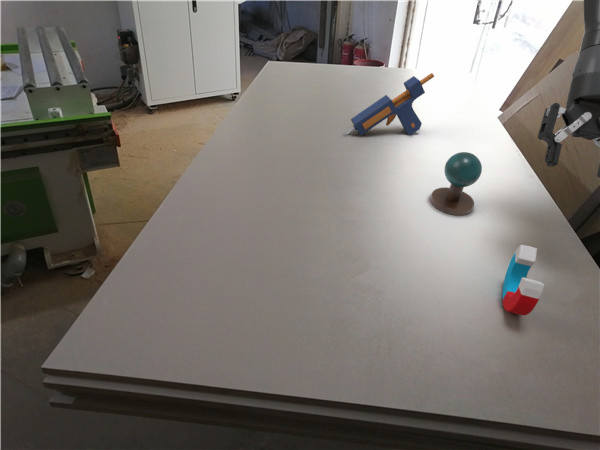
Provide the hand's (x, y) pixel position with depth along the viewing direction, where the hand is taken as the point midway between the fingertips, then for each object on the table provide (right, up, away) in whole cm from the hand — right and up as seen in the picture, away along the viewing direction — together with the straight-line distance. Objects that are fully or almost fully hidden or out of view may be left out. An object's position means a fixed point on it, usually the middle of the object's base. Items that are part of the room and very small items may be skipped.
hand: (577, 171), depth 69 cm
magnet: (-9, -24, +5) cm, 26 cm away
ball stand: (-10, -4, +30) cm, 32 cm away
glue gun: (-21, +20, +60) cm, 66 cm away
